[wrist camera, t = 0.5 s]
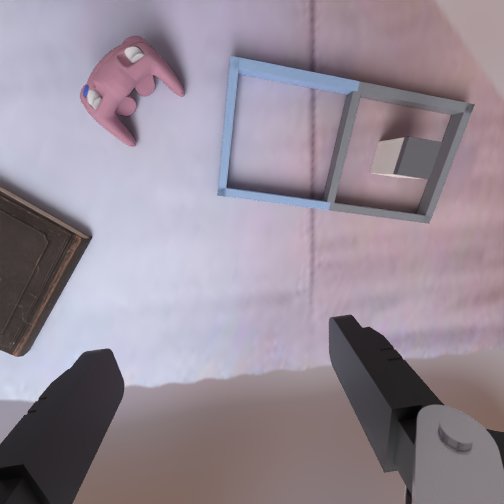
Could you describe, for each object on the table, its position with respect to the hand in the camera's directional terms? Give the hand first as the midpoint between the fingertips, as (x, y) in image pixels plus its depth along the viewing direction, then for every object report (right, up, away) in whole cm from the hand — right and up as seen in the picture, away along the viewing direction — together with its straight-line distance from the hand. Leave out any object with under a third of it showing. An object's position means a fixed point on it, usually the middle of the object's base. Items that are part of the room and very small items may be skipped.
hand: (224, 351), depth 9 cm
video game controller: (-12, +22, +20) cm, 32 cm away
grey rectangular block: (+20, +16, +24) cm, 35 cm away
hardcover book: (-34, +1, +26) cm, 43 cm away
